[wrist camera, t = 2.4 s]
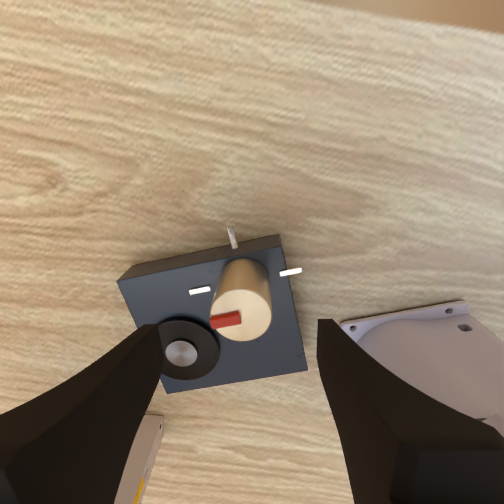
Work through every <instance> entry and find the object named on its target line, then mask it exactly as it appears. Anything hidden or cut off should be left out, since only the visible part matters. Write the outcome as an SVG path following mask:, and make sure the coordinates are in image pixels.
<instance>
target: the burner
mask: <svg viewBox="0 0 504 504" xmlns="http://www.w3.org/2000/svg"><path fill="white" fill-rule="evenodd" d="M158 328H159V334H160V339H161V344H162V349H163V354H164V359H165V361H164V365H163V368H162V372H161V374H163V375H165V376H167V377H170V378H173V379H177V380H195V379H199V378H202V377H204V376H206V375H207V374H209V373H210V372H211V371H212V370H213V369H214V368H215V366H216V365H217V362H218V360H219V355H220V344H219V341H218V338H217V336H216V335H215V333H214V332H213V331H212V330H211V329H210V328H209V327H208V326H207V325H206V324H204V323H202V322H201V321H198V320H196V319H193V318H189V317H171V318H167V319H165V320H162V321H161V322H159V323H158Z"/></svg>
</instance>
